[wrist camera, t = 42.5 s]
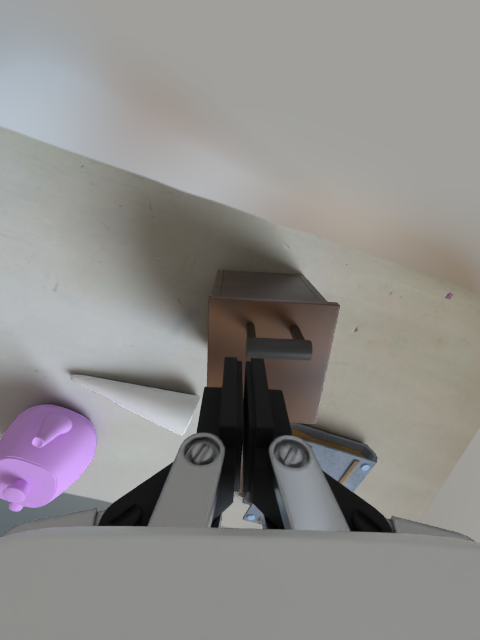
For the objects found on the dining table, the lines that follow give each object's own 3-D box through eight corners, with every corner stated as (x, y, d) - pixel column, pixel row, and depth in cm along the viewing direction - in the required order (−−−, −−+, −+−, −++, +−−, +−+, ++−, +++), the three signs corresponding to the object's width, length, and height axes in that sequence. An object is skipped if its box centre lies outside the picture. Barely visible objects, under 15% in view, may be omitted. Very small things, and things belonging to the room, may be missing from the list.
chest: (218, 269, 39) (209, 303, 26) (303, 274, 39) (335, 310, 26) (215, 351, 43) (207, 414, 31) (291, 355, 44) (314, 418, 31)
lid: (209, 295, 26) (202, 319, 20) (337, 302, 26) (362, 327, 21) (207, 415, 31) (201, 458, 26) (314, 419, 31) (329, 462, 26)
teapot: (84, 476, 53) (45, 547, 42) (10, 450, 51) (-52, 519, 40) (122, 399, 47) (88, 460, 36) (39, 365, 44) (-25, 419, 33)
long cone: (88, 339, 44) (203, 389, 46) (81, 369, 47) (190, 415, 48) (63, 359, 39) (193, 415, 40) (57, 392, 42) (179, 443, 43)
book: (315, 516, 59) (322, 543, 54) (240, 497, 56) (241, 524, 51) (370, 444, 51) (383, 468, 47) (286, 418, 49) (292, 441, 44)
